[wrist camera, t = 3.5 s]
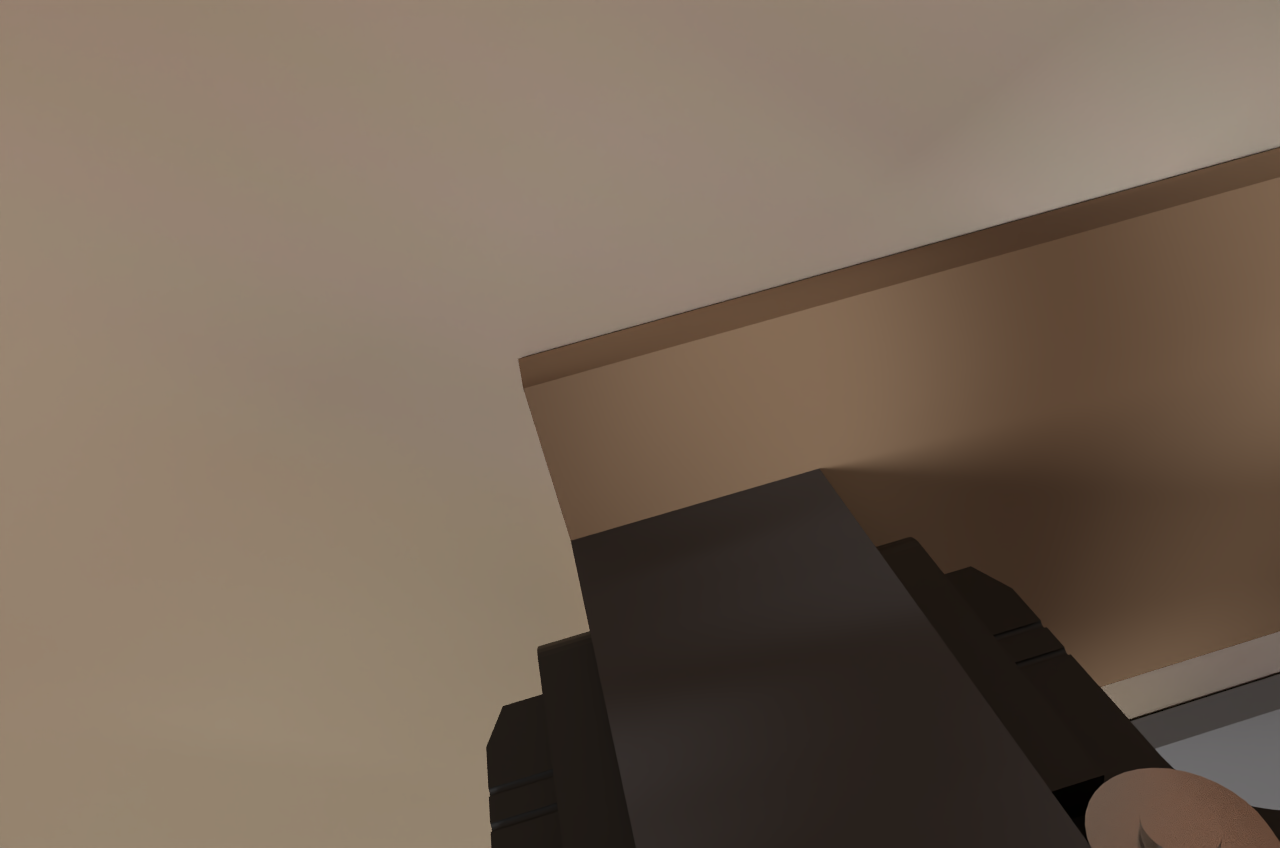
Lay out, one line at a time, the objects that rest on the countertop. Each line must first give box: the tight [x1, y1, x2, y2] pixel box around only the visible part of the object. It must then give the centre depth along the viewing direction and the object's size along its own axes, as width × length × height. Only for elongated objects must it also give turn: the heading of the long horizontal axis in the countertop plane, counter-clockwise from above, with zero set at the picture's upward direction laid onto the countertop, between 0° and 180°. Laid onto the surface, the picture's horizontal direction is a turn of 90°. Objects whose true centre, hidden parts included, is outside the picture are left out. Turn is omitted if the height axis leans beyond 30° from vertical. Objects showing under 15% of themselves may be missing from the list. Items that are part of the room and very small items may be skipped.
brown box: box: [518, 148, 1280, 848], centre depth 10 cm, size 10×7×7 cm
